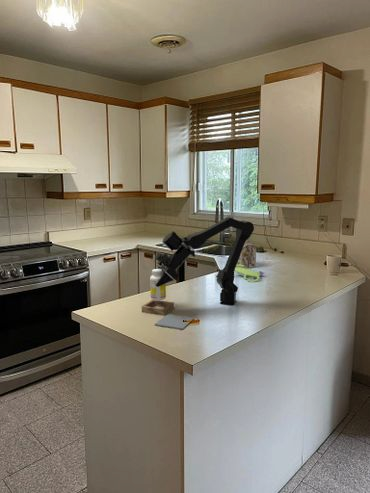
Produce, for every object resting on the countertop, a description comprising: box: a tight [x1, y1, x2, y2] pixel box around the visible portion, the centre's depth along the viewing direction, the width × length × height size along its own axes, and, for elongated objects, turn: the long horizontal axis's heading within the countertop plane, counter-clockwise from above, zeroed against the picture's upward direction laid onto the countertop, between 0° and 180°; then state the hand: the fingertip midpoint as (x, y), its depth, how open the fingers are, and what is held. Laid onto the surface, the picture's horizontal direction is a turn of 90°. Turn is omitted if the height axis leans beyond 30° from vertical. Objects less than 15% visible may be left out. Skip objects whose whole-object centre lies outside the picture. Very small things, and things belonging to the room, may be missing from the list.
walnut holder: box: [141, 299, 175, 316], centre depth 165 cm, size 11×11×2 cm
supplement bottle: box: [149, 268, 167, 301], centre depth 164 cm, size 7×7×13 cm
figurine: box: [234, 264, 265, 283], centre depth 224 cm, size 18×27×6 cm
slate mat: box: [154, 313, 195, 331], centre depth 150 cm, size 12×12×1 cm
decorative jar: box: [237, 239, 257, 269], centre depth 248 cm, size 12×12×18 cm
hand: (154, 284), depth 163 cm, fingers closed on supplement bottle, 7 cm apart
